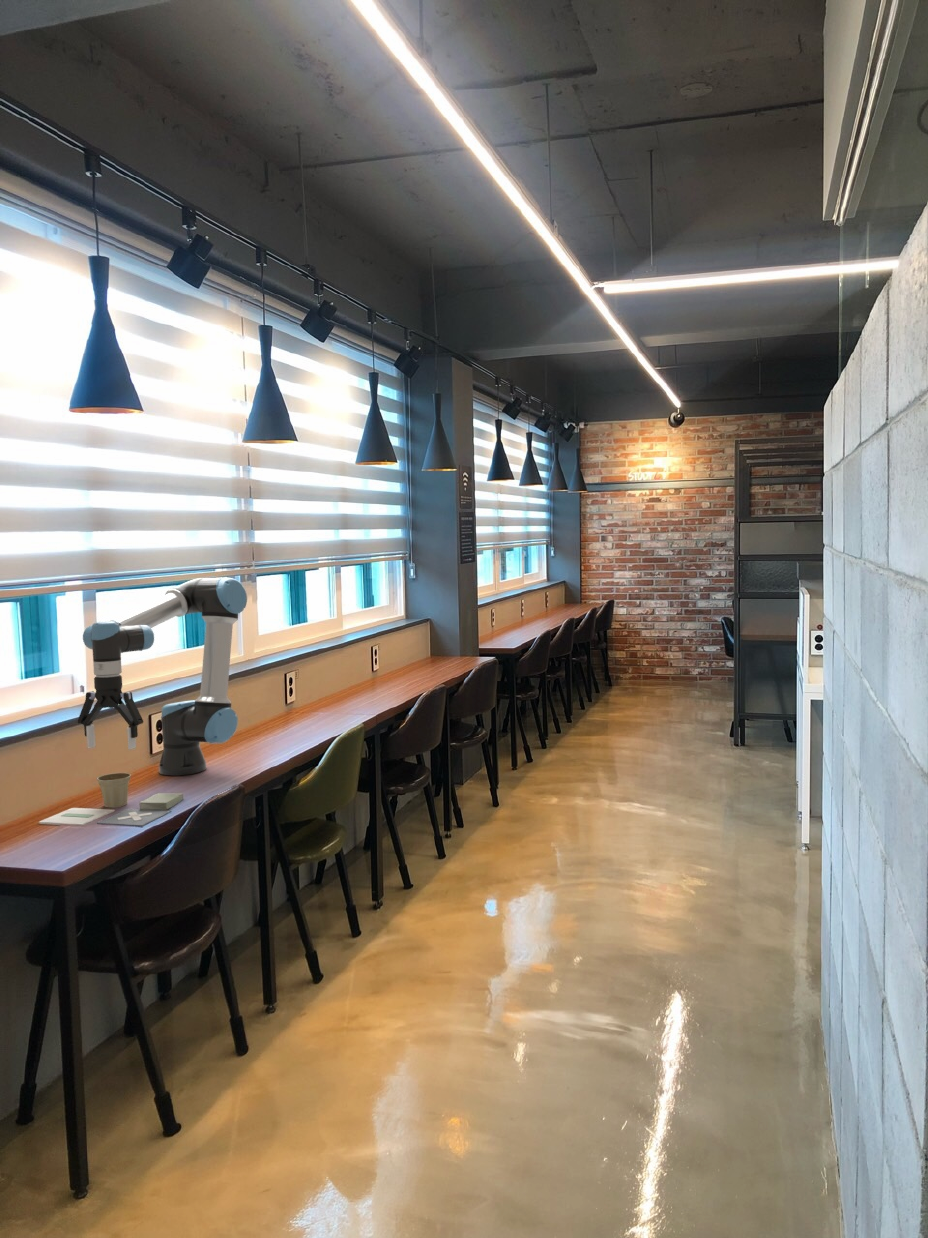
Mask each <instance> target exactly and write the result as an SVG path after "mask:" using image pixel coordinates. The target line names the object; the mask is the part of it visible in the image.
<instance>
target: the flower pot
mask: <svg viewBox="0 0 928 1238" xmlns="http://www.w3.org/2000/svg"><path fill="white" fill-rule="evenodd" d="M131 777H132V774H131V773H128V772H114V773H108V774H107V773H106V774H103V775H100V776H98V777H97V778H96V780H97V782H98V785H99V787H100V791H101V796H102V800H103V804H104V807H105V808H111V809H112V808H120V807H123V806H125V805H127V804H128V799H129V798H128V796H129V784H130V780H131Z"/></svg>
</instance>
